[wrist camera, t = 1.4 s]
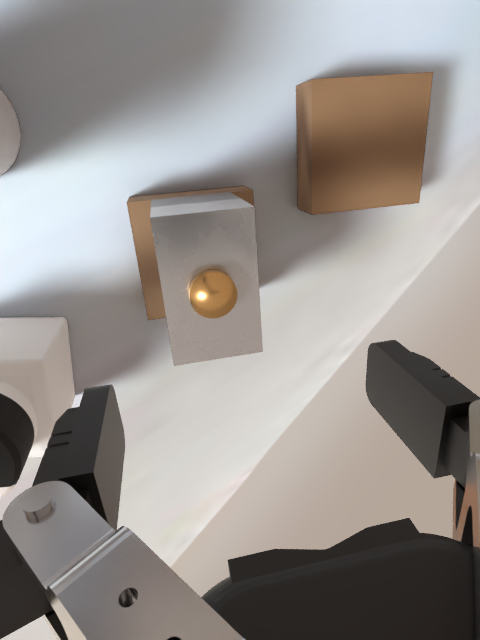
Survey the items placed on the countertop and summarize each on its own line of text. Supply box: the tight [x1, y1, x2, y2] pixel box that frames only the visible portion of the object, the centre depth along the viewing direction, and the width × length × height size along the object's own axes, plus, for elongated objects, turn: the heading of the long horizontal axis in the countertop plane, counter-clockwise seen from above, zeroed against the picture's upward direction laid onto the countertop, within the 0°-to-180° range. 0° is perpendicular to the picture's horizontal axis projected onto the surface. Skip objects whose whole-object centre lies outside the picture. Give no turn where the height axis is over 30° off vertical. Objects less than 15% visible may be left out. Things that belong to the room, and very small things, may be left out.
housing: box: [150, 192, 263, 366], centre depth 24 cm, size 8×5×8 cm, turn 4°
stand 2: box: [296, 72, 433, 215], centre depth 28 cm, size 8×8×3 cm
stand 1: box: [127, 186, 254, 320], centre depth 28 cm, size 8×8×3 cm
